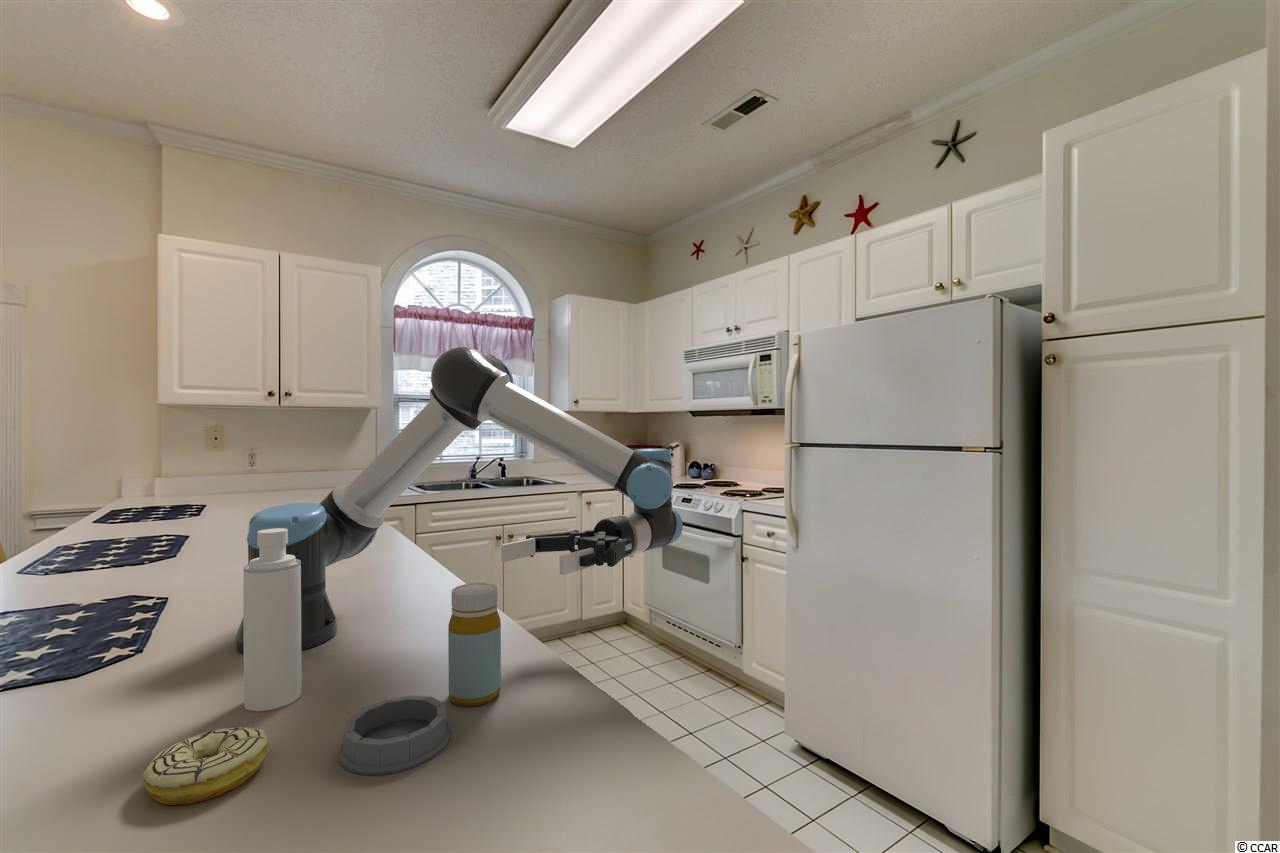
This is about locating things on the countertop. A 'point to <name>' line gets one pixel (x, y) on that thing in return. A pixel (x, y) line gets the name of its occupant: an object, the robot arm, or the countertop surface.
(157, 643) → the countertop surface
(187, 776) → the decorated donut
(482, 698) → the bottle
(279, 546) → the spray bottle
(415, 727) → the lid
